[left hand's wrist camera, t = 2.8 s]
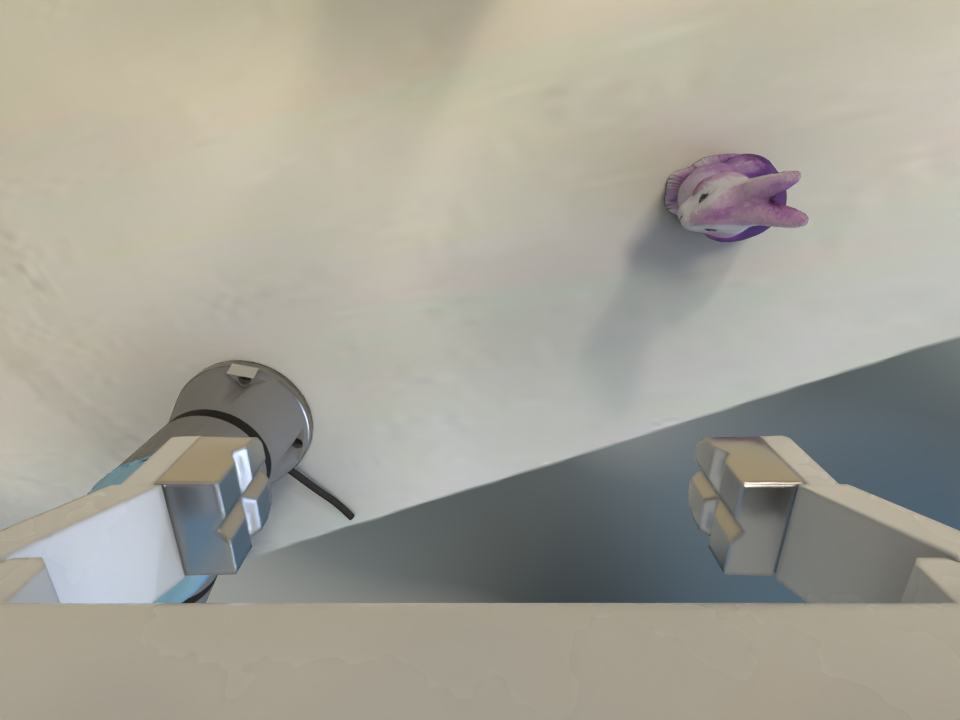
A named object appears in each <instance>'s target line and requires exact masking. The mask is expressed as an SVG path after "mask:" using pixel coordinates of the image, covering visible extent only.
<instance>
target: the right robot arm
mask: <svg viewBox="0 0 960 720" xmlns="http://www.w3.org/2000/svg"><path fill="white" fill-rule="evenodd" d="M312 430H313V427H312V417H311V413H310V410H309V407H308V405H307V402H306V401H305V399H304V397H303V396H302V394H301V393H300V391H299V390H298V389H297V388H296V387H295V386H294V385H293V384H292V383H291V382H290V381H289V380H288V379H287V378H285V377H284V376H283V375H281V374H280V373H278V372H276V371H275V370H273V369H271V368H268V367H266V366H263V365H260V364H257V363H253V362H247V361H227V362H222V363H218V364H215V365H212V366H210V367H208V368H206V369H204V370H203V371H202V372H200V373H199V374H198V375H196V376H195V377H194V378H193V379H192V380H190V381H189V382H188V383H187V384H186V385H185V387H184V388H183V389H182V391H181V393H180V395H179V397H178V399H177V401H176V404H175V407H174V409H173V412H172V415H171V417H170V420H169V423H168V424H167V425H166V426H164V427H163V428H162V429H161V430H160V431H159V432H157V433H156V434H155V435H154V436H153V437H152V438H151V439H149V440H148V441H147V442H146V443H145V444H144V445H143V446H141V447H140V448H139V449H138V450H137V451H136V452H134V453H133V454H132V455H131V456H130V457H129V458H128V459H126V460H125V461H124V462H123V463H122V464H121V465H120V466H118V467H117V468H116V469H114V470H113V471H112V472H111V473H109V474H107V475H106V476H105V477H104V478H103V479H101V480H100V481H99V482H98V483H97V484H96V485H95V486H94V487H93V489H92V490H91V492H89V493H88V494H90V493H93V492H95V491H98V490H100V489H102V488H105V487H107V486H110V485H121V484H122V483H123V482H124V481H125V480H126V479H127V478H128V477H129V476H131V475H132V474H133V473H134V472H135V471H136V470H137V469H138V468H139V467H140V466H141V465H142V464H143V463H144V462H146V461H147V460H148V459H149V458H150V457H151V456H152V455H153V454H154V453H155V452H156V451H157V450H158V449H160V448H161V447H162V446H163V445H164V444H165V443H166V442H167V441H168V440H169V439H170V438H171V437H179V436H203V437H205V436H209V437H257V438H258V439H259V440H260V441H261V442H262V443H263V448H264V453H265V457H266V459H265V460H264V462H263V464H262V465H261V467H260V468H259V469H260V470H261V471H262V472H263V473H264V474H265V475H266V476H267V477H268V478H269V481H270V484H271V483H273V482H274V481H276V480H277V479H279V478H281V477H282V476H284V475H285V474H287V473H289V474H290V475H292V476H293V477H294V478H296V479H297V480H298V481H300V482H301V483H302V484H304V485H305V486H307V487H308V488H309V489H311V490H312V491H314V492H315V493H316V494H318V495H319V496H321V497H322V498H324V499H325V500H327V501H328V502H330V503H331V504H332V505H334V506H335V507H336V508H337V509H338V510H340V511H341V512H342V513H343V514H344V515H345V516H346V517H347V518H348V519H349V520H351V519H353V517H354V514H353V513H352V512H351V511H350V510H349V509H348V508H346V507H345V506H344V505H343V504H342V503H341V502H340V501H338V500H337V499H336V498H334V497H333V496H332V495H330V494H329V493H327V492H326V491H324V490H323V489H321V488H320V487H319V486H317V485H316V484H314V483H313V482H312V481H310V480H309V479H308V478H306V477H305V476H304V475H302V474H301V473H300V472H298V471H297V470H296V469H294V467H295V466H296V465H297V464H298V463H299V462H300V460H301V459H302V457H303V455H304V453H305V452H306V450H307V448H308V446H309V444H310V441H311V437H312ZM88 494H87V495H88ZM216 578H217V575H189V576H185V579H183V580H182V581H181V582H180V583H178V584H177V585H176V586H174V587H173V588H172V589H170V590H169V591H168V592H166V593H165V594H164V595H162V596H161V597H160V598H158V599H157V600H156V601H154V602H153V603H206V601H207V598H208V596H209V594H210V591H211V589H212V587H213V585H214V582H215V580H216Z"/></svg>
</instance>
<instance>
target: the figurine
mask: <svg viewBox="0 0 960 720" xmlns="http://www.w3.org/2000/svg"><path fill="white" fill-rule="evenodd" d="M800 178H801V173H800V172H798V171H783V172H779V173H778V172H777V170H776V169H775V168H774V166H773V165H772V164H771V162H770V161H769V160H767V159H766V158H764V157H762V156H759V155H755V154H742V155H741V154H723V155H715V156H710V157H705V158H702V159H701V160H699V161H697V162H696V163H694V164H693V165H692V166H691V167H690V168H686V169H683V170H679V171H677V172H675V173H673V174H672V175H671V176H670V177H669V180H668V182H667V188H666V189H667V191H666V196H665V204H666V208H667V209H668V210H669V212H671V213H673V214H675V215H677V216H678V220H679V222H680V223H681V225H682V227H683V228H684V229H686V230H690V231H695V232H701V233H705V235H706V236H707V237H709V238H710V239H712V240H715V241H719V242H734V241H740V240H744V239H747V238H750V237H753V236H756V235H758V234H760V233H762V232H764V231H765V230H767V229H768V228H770V227H771V226H773V227H785V228H796V227H802V226H804V225H806V224H807V222H808V217H807V215H806V214H805V213H803V212H801V211H799V210H797V209H795V208H792V207H789V206H786V200H787V194H786V190H787V189H789V188H790V187H791V186H793V185H794V184H795V183H797V182H798V181H799V180H800Z"/></svg>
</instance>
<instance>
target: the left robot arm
mask: <svg viewBox="0 0 960 720" xmlns="http://www.w3.org/2000/svg"><path fill="white" fill-rule="evenodd" d="M265 459H266V457H265V453H264V448H263V443H262V442H261V441H260V440H259V439H258V438H257V437H209V436H205V437H203V436H179V437H171V438H170V439H169V440H168V441H167V442H166V443H165V444H164V445H163V446H162V447H161V448H160V449H158V450H157V451H156V452H155V453H154V454H153V455H152V456H151V457H150V458H149V459H148V460H147V461H146V462H144V463H143V464H142V465H141V466H140V467H139V468H138V469H137V470H136V471H135V472H134V473H133V474H132V475H131V476H129V477H128V478H127V479H126V480H125V481H124V482H123V483H122V484H121V485H110V486H107V487H105V488H102V489H100V490H98V491H95V492H93V493H90V494H88V495H85V496H83V497H81V498H78V499H76V500H73V501H71V502H69V503H66V504H64V505H61V506H59V507H57V508H54V509H52V510H49V511H47V512H45V513H42V514H40V515H37V516H35V517H33V518H30V519H28V520H25V521H23V522H21V523H18V524H16V525H13V526H11V527H9V528H6V529H4V530H1V531H0V720H960V531H958V530H956V529H954V528H951V527H949V526H946V525H944V524H942V523H939V522H937V521H934V520H932V519H930V518H927V517H925V516H922V515H920V514H918V513H915V512H913V511H910V510H908V509H906V508H903V507H901V506H898V505H896V504H894V503H891V502H889V501H886V500H884V499H882V498H879V497H877V496H874V495H872V494H870V493H867V492H865V491H862V490H860V489H858V488H855V487H853V486H850V485H839V484H838V483H837V482H836V481H835V480H834V479H833V478H832V477H831V476H830V475H828V474H827V473H826V472H825V471H824V470H823V469H822V468H821V467H820V466H819V465H818V464H817V463H816V462H815V461H813V460H812V459H811V458H810V457H809V456H808V455H807V454H806V453H805V452H804V451H803V450H802V449H801V448H800V447H798V446H797V445H796V444H795V443H794V442H793V441H792V440H791V439H790V438H788V437H784V436H765V437H718V438H701V439H700V440H699V442H698V445H697V447H696V452H695V457H694V459H695V460H696V462H697V463H698V465H699V467H700V468H701V469H700V470H699V471H698V472H697V473H696V474H695V475H694V476H693V477H692V478H691V481H690V488H689V504H690V511H691V514H692V517H693V520H694V522H695V524H696V526H697V528H698V529H699V530H700V531H702V532H703V533H705V534H706V535H708V536H709V537H710V540H709V546H708V547H709V549H710V551H711V552H712V554H713V556H714V557H715V559H716V561H717V563H718V564H719V566H720V568H721V569H722V571H723V573H724V574H734V575H771V576H775V579H777V580H778V581H780V582H781V583H782V584H783V585H785V586H786V587H787V588H789V589H790V590H791V591H793V592H794V593H795V594H797V595H798V596H799V597H800V598H802V599H803V600H804V601H806V602H807V603H153V602H154V601H156V600H157V599H158V598H160V597H161V596H162V595H164V594H165V593H166V592H168V591H169V590H170V589H172V588H173V587H174V586H176V585H177V584H178V583H180V582H181V581H182V580H183V579H185V576H189V575H223V574H236V573H237V571H238V570H239V568H240V566H241V564H242V563H243V561H244V559H245V558H246V556H247V554H248V552H249V551H250V549H251V547H252V546H251V540H250V537H251V536H252V535H254V534H255V533H257V532H258V531H260V530H262V528H263V526H264V524H265V522H266V520H267V518H268V514H269V510H270V505H271V487H270V481H269V478H268V477H267V476H266V475H265V474H264V473H263V472H262V471H261V470H260V469H259V468H260V467H261V465H262V464H263V462H264V460H265Z"/></svg>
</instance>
